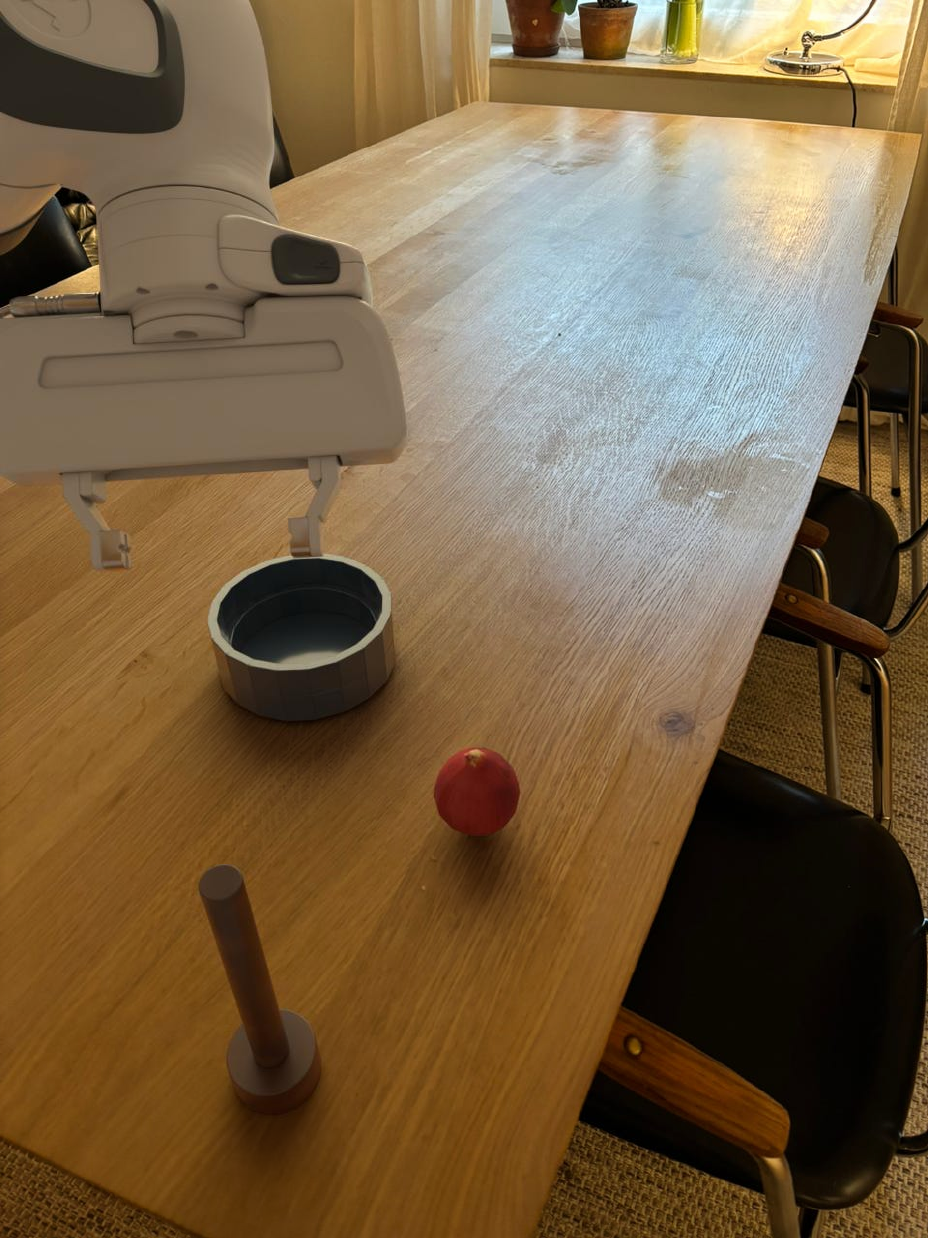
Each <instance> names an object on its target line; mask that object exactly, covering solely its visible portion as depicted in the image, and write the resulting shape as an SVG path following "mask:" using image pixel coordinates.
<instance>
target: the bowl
mask: <svg viewBox="0 0 928 1238" xmlns="http://www.w3.org/2000/svg"><path fill="white" fill-rule="evenodd" d="M206 618H207V619H206V624H207V628H208V633H209V637H210V641H211V645H212V649H213V653H214V657H215V661H216V664H217V665H216V666H217V670H218V674H219V677H220V680H221V684H222V687H223V690H224V691H225V692H226V693H227V694H228V695H229V696H230V698H231V699H232V700H233V701H234V702H235V703H236V704H237V705H238V706H240V707H242V708H244V709H246V710H248V711H249V712H251V713H254V714H256V715H258V716H259V717H264V718H268V719H274V720H278V721H285V722H296V721H297V722H299V721H300V722H301V721H317V720H321V719H323V718H328V717H331V716H334V715H338V714H341V713H345V712H347V711H350V710H351V709H352V708H355V707H356V706H358V705H360V704H362V703H364V702H365V701H367V700H369V699H370V698H371V697H373V696H374V695H375V693H377V691H378V690H380V689H381V687H382V686H384V684H386V682H387V681H388V679H389V677H390V675H391V673H392V671H393V669H394V667H395V664H396V662H397V641H396V639H397V638H396V629H395V617H394V605H393V595H392V592H391V591H390V589H389V586H388V585H387V583H386V581H385V579H384V578H383V577H382V576H381V575H379V573H377V572H376V571H374V570H373V569H372V568H371V567H370V566H369V565H367V564H365V563H362V562H359V561H357V560H355V559H352V558H349V557H348V556H344V555H343V556H342V555H336V554H330V553H323V557H309V558H293V556H291V554H289V555H288V554H287V555H285V556H280V557H275V558H272V559H268V560H264V561H262V562H259V563H257V564H255V565H253V566H251V567H248V568H246V569H244V570H242V571H241V572H239V573H238V574H237V575H235V576H234V577H233V578H231V579H230V580H229V581H227V582H226V583H225V584H224V585H223V586H222V587H221V589H220V590H219V591H218V593H216V595H215V597H214V598H213V599H212V601H211V603H210V605H209V610H208V614H207V617H206Z"/></svg>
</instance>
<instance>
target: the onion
mask: <svg viewBox="0 0 928 1238" xmlns="http://www.w3.org/2000/svg"><path fill="white" fill-rule="evenodd" d="M520 796H521V788H520V783H519V779H518V776H517V772H516V771H515V768H514V767H513V765H512V764H510V762H509V761H508V760H507V759H506V758H505V757H504V756H503V755H502V754H501V753H499V752H497V751H494V750H492V749H489V748H486V747H467V748H464V749H462V750H459V751H457V752H456V753H454V754H453V755H452V756H450V757H449V758H447V760H446V761H445V762H444V764H443V766H442V767H441V768H440V770H439V771H438V773H437V776H436V780H435V784H434V788H433V798H434V803H435V805H436V809H437V811H438V816H440V818H441V819H442V820H443V822H445V823H446V824H447V825H448V826H449V828H451V829H452V830H453V831H455V832H458V833H460V834H462V835H467V836H472V837H481V836H482V837H483V836H489V835H493V834H494V833H496V832H499V831H500V830H502V829H504V828H505V827H506V826H507V825H508V824H509V822H510V821H511V820H512V819H513V817H514V816H515V814H516V813H517V809H518V806H519V801H520Z"/></svg>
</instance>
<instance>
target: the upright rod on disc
mask: <svg viewBox="0 0 928 1238" xmlns="http://www.w3.org/2000/svg"><path fill="white" fill-rule="evenodd" d="M198 892H199V896H200V898H201V902H202V904H203V907H204V910H205V913H206V916H207V917H206V918H207V919H208V923H209V926H210V928H211V931H212V935H213V938H214V942H215V944H216V948H217V950H218V953H219V956H220V959H221V963H222V965H223V968H224V971H225V974H226V977H227V980H228V984H229V987H230V989H231V993H232V996H233V998H234V1001H235V1004H236V1008H237V1010H238V1014H239V1017H240V1019H241V1023H242V1024H240V1025H239V1027H238V1028H237V1029H236V1031H235V1032H234V1034H233V1035H232V1037H231V1039H230V1041H229V1042H228V1043H229V1044H228V1046H227V1051H226V1068H227V1071H228V1075H229V1078H230V1081H231V1082H232V1085H233V1088H234V1090H235V1093H236V1095H237V1097H238V1099H239V1100H240V1102H241V1103H242V1104H243V1105H244V1106H245V1107H246V1108H248V1109H249V1110H251V1111H253V1112H255V1113H258V1114H262V1115H280V1114H284V1113H286V1112H290V1111H291V1110H294V1109H296V1108H297V1107H299V1106H300V1105H301V1104H302V1103H303V1102H305V1101H306V1100H307V1099H308V1098H309V1096H311V1094H312V1093H313V1091H314V1089H315V1088H316V1086H317V1084H318V1082H319V1078H320V1076H321V1069H322V1059H321V1053H320V1050H319V1045H318V1041H317V1037H316V1033H315V1031H314V1029H313V1026H312V1025H311V1024H310V1023H309V1021H308V1020H307V1018H305V1017H304V1016H302V1015H301V1014H299V1013H298V1012H296V1011H293V1010H290V1009H286V1008H280V1006H279V1002H278V999H277V996H276V991H275V989H274V984H273V981H272V977H271V974H270V970H269V967H268V964H267V960H266V956H265V952H264V949H263V945H262V942H261V938H260V934H259V931H258V927H257V923H256V920H255V916H254V912H253V908H252V904H251V902H250V901H251V900H250V897H249V895H248V894H249V893H248V891H247V887H246V884H245V880H244V876H243V873H242V872H241V870H240V869H239V868H237V867H236V866H234V865H232V864H227V863H223V864H218V865H214V866H212V867H210V868H209V869H207V870H206V871H205V872H204V873H202V876H201V877H200V878H199V881H198Z"/></svg>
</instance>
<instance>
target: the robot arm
mask: <svg viewBox="0 0 928 1238" xmlns="http://www.w3.org/2000/svg"><path fill="white" fill-rule="evenodd" d="M271 95H272V94H271V86H270V79H269V71H268V65H267V57H266V53H265V47H264V43H263V39H262V35H261V30H260V28H259V24H258V21H257V18H256V14H255V11H254V10H253V7H252V4H251V2H250V0H0V256H2V255H5V254H6V253H8V252H10V251H12V250H13V249H14V248H16V247H17V246H18V245H19V244H21V242H22V241H23V240H24V239H25V238H26V237H27V236H28V234H29V233H30V231H32V228H33V227H34V226H35V224H36V222H37V221H38V219H39V218H40V217H41V215H42V213H43V212H44V211H45V209H46V208H47V206H48V204H49V202H50V201H51V199H52V198H53V197H54V196H55V195H56V193H57V192H59V191H60V190H61V188H66V189H69V190H73V191H76V192H79V193H82V194H83V195H85V196H86V197H87V198H88V199H89V200H90V201H91V203H92V205H93V207H94V210H95V214H96V215H95V217H96V218H95V219H96V234H97V236H96V237H97V253H98V254H97V255H98V257H97V258H98V269H99V270H98V272H99V289H100V290H99V291H88V292H86V291H85V292H72V293H66V294H65V293H64V294H59V295H54V296H38V295H23V296H17V297H14V298H11V299H10V300H9V302H8V303H9V304H8V305H6V306H4V307H1V308H0V476H1V477H2V478H3V479H5V480H8V481H9V482H11V483H13V484H16V485H18V486H20V487H24V488H37V487H39V488H40V487H53V486H62V497H63V499H64V501H65V502H66V504H67V505H68V506H69V508H70V510H71V511H72V512H73V514H74V515H75V517H76V518H77V520H78V522H79V523H80V525H81V526H82V527H83V528H84V530H85V532H87V533H88V534H89V535H88V536H89V550H90V563H91V567H92V569H93V570H94V571H97V572H100V573H105V572H106V573H108V572H120V571H130V570H132V567H133V556H131V554H129V553H130V552H131V550H132V535H130V534H128V533H125V532H124V531H123V530H121V529H113V530H112V529H111V528H110V527H109V525H108V523H107V522H106V521H105V519H104V517H103V516H102V514H101V512H100V511H99V510H98V508H97V507H96V504H97V505H101V504H105V503H106V502H107V491H106V490H107V488H106V486H107V485H106V483H111V482H113V483H114V482H130V481H131V482H132V481H140V480H141V481H144V480H158V479H159V480H161V479H175V478H189V477H204V476H207V477H208V476H221V475H235V474H237V475H238V474H249V473H265V472H266V473H267V472H281V471H282V472H283V471H295V470H296V471H297V470H308V478H309V481H310V483H311V484H312V486H313V488H314V489H315V490H316V492H315V493H314V496H313V497H312V500H311V503H310V504H309V506H308V508H307V511H306V513H305V515H304V516H303V517H292V518H291V517H290V518H288V519H287V523H288V533H289V534H290V535H291V538H290V540H289V551H290V555H291V556H293V558H309V557H323V553H324V551H325V550H324V536H323V534H324V533H323V523H324V522H325V521H326V520H327V517H328V515H329V514H330V511H331V509H332V508H333V505H334V504H335V502H336V500H337V498H338V495H339V494H340V493H341V489H342V476H341V467H342V468H343V467H357V466H370V465H371V466H372V465H373V466H374V465H388V464H394V463H395V462H397V461H398V460H399V458H400V457H401V456H402V454H404V452H405V450H406V449H407V447H408V445H409V431H408V422H407V421H408V420H407V414H406V413H407V412H406V404H405V397H404V392H403V386H402V381H401V380H402V379H401V376H400V370H399V366H398V362H397V357H396V353H395V349H394V345H393V342H392V338H391V335H390V332H389V330H388V326H387V325H386V323H385V321H384V319H383V317H382V315H380V313H379V312H378V311H377V309H376V308H375V307H373V305H374V298H373V295H374V294H373V285H372V284H373V283H372V281H371V280H372V279H371V275H370V271H369V268H368V266H367V263H366V260H365V258H364V257H363V254H362V252H361V251H360V250H359V249H358V248H356V247H355V246H353V245H351V244H348V243H346V242H342V241H337V240H334V239H330V238H326V237H323V236H322V237H321V236H317V235H314V234H309V233H307V232H306V233H305V232H301V231H298V230H294V229H290V228H287V227H284V226H281V223H280V219H279V214H278V211H277V208H276V206H275V203H274V201H273V197H272V193H271V188H270V178H271V177H270V175H271V171H272V166H273V163H274V158H275V131H274V116H273V115H274V114H273V105H272V96H271ZM10 315H11V316H12V317H7V316H10ZM324 554H325V553H324Z"/></svg>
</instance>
